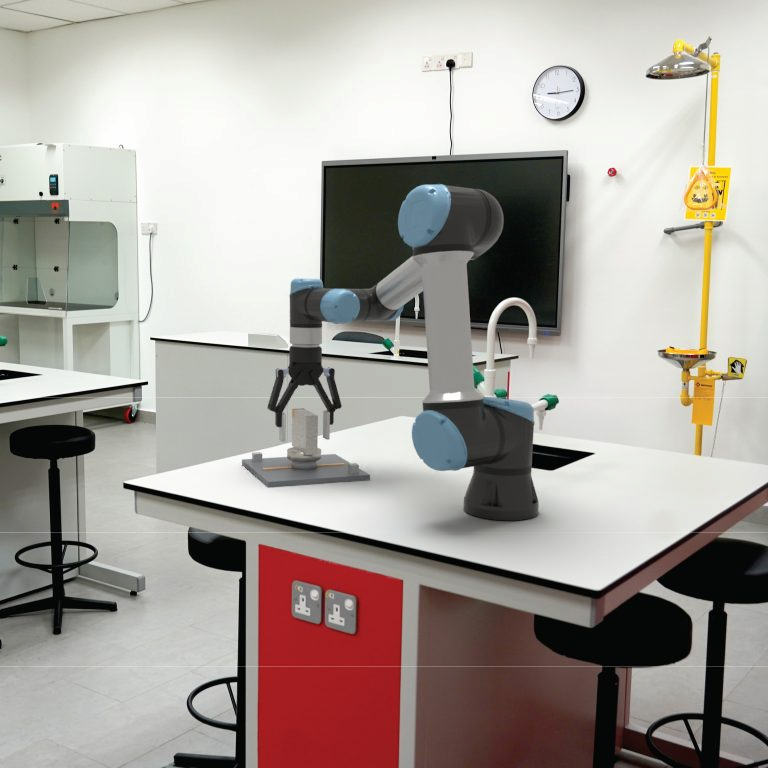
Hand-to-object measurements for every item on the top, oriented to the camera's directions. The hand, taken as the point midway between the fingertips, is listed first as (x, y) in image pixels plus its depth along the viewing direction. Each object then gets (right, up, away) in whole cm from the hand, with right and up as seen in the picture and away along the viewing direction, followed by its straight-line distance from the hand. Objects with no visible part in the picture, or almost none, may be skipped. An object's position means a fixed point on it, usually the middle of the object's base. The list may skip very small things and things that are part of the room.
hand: (304, 439), depth 213 cm
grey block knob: (0, -4, +1) cm, 4 cm away
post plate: (0, -8, +1) cm, 8 cm away
